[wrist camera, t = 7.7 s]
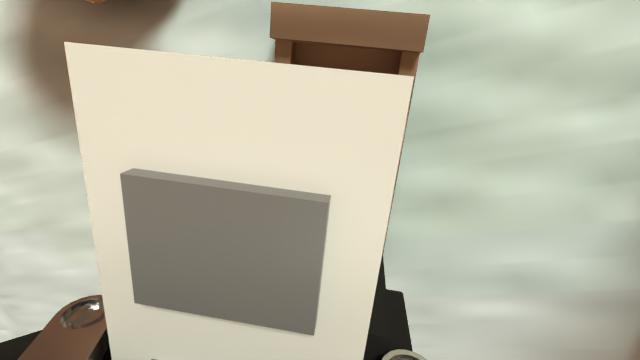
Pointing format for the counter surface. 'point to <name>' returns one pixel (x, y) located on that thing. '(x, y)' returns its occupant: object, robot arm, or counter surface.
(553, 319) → the counter surface
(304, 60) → the cradle
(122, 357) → the strip
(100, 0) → the ceramic jug
